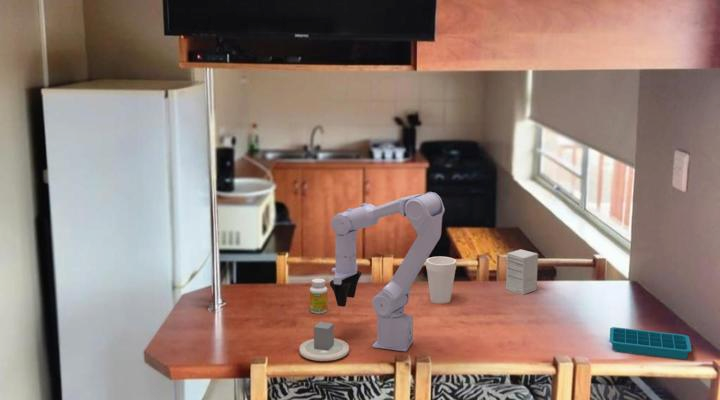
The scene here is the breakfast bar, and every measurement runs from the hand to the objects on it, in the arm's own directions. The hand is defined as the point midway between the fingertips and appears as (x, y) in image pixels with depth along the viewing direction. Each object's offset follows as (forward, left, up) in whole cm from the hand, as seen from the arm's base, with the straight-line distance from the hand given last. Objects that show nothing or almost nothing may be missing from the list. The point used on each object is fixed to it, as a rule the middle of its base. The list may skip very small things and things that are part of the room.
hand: (346, 301), depth 215 cm
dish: (+1, +15, -9) cm, 17 cm away
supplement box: (-42, -53, -10) cm, 69 cm away
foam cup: (-19, -35, -10) cm, 41 cm away
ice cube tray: (-81, -16, -10) cm, 83 cm away
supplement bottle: (+14, -14, -10) cm, 22 cm away
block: (+1, +15, -8) cm, 17 cm away
